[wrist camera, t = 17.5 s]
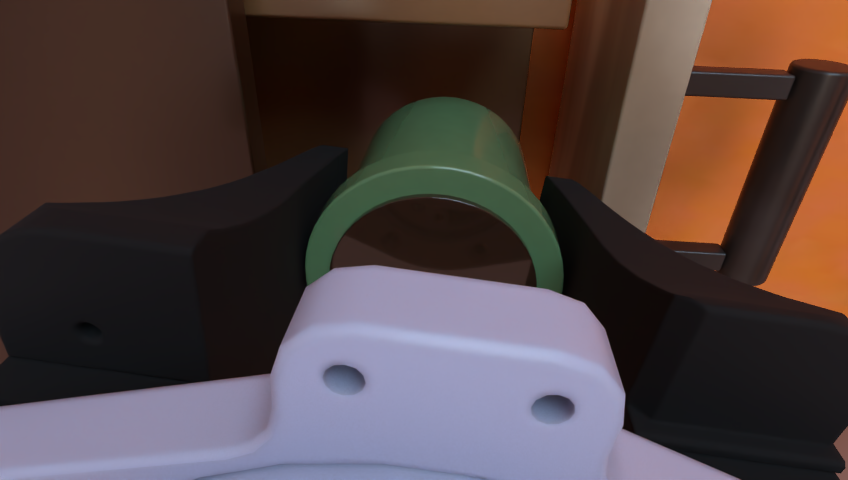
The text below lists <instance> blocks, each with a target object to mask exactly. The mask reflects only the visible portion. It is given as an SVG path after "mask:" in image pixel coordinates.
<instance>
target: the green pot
mask: <svg viewBox="0 0 848 480" xmlns="http://www.w3.org/2000/svg"><path fill="white" fill-rule="evenodd" d="M367 265H378V266H386V267H393V268H400V269H407V270H414V271H421V272H429V273H436V274H443V275H450V276H457V277H464V278H472V279H479V280H486V281H493V282H500V283H507V284H515V285H522V286H529V287H536V288H543V289H549V290H551V291H554V292H557V293H559V294H562V291H563V284H564V267H563V259H562V255H561V251H560V247H559V243H558V239H557V235H556V231H555V228H554V226H553V223H552V221H551V219H550V217H549V215H548V213H547V211H546V210H545V208H544V207H543V205H542V204H541V202H540V201H539V200H538V199H537V197H536V196H535V195H534V194H533V193H532V192H531V188H530V183H529V178H528V173H527V168H526V163H525V158H524V155H523V151H522V148H521V146H520V143H519V141H518V139H517V137H516V136H515V134H514V133H513V131H512V130H511V129H510V127H509V126H508V125H507V124H506V122H504V121H503V120H502V119H501V118H500V117H499V116H498V115H496V114H495V113H494V112H492V111H491V110H489V109H488V108H486V107H484V106H482V105H480V104H478V103H475V102H472V101H469V100H465V99H461V98H455V97H432V98H427V99H422V100H419V101H416V102H413V103H410V104H408V105H406V106H404V107H402V108H400V109H399V110H397V111H396V112H394V113H393V114H391V115H390V116H389V117H388V118H387V119H386V120H385V121H384V122H383V123H382V124H381V125H380V126H379V128H378V129H377V131H376V132H375V134H374V135H373V137H372V139H371V141H370V143H369V146H368V148H367V150H366V152H365V155H364V157H363V159H362V161H361V164H360V166H359V168H358V170H357V172H356V173H355V174H353V175H352V176H351V177H349V178H348V179H347V180H346V181H345V182H344V183H342V184H341V185H340V186H339V187H338V188H337V190H336V191H335V192H334V193H333V194H332V195H331V197H330V198H329V200H328V201H327V203H326V204H325V206H324V208H323V209H322V211H321V213H320V215H319V217H318V219H317V221H316V223H315V225H314V227H313V230H312V232H311V234H310V237H309V240H308V244H307V248H306V254H305V276H306V282H307V286H308V285H310V284H311V283H313V282H314V281H316V280H317V279H319V278H320V277H322V276H323V275H325V274H326V273H328V272H329V271H331V270H332V269H334V268H342V267H354V266H367Z"/></svg>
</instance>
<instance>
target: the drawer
mask: <svg viewBox="0 0 848 480" xmlns="http://www.w3.org/2000/svg"><path fill="white" fill-rule="evenodd" d="M243 2H244V9H245V16H246V23H247V30H248V37H249V44H250V51H251V58H252V65H253V72H254V79H255V86H256V93H257V100H258V107H259V114H260V121H261V128H262V135H263V142H264V149H265V156H266V163H267V169H268V168H270V167H273V166H275V165H277V164H280V163H282V162H284V161H286V160H288V159H290V158H293V157H295V156H297V155H299V154H301V153H303V152H305V151H308V150H310V149H312V148H315V147H317V146H321V145H327V146H334V147H341V148H348V166H347V179H348V178H349V177H351V176H352V175H353V174H355V173H356V172H357V170H358V168H359V166H360V164H361V161H362V159H363V157H364V155H365V152H366V150H367V148H368V146H369V143H370V141H371V139H372V137H373V135H374V134H375V132H376V131H377V129H378V128H379V126H380V125H381V124H382V123H383V122H384V121H385V120H386V119H387V118H388V117H389V116H390V115H391V114H393V113H394V112H396V111H397V110H399V109H400V108H402V107H404V106H406V105H408V104H410V103H413V102H416V101H419V100H422V99H427V98H432V97H455V98H461V99H465V100H469V101H472V102H475V103H478V104H480V105H482V106H484V107H486V108H488V109H489V110H491V111H492V112H494V113H495V114H496V115H498V116H499V117H500V118H501V119H502V120H503V121H504V122H506V124H507V125H508V126H509V127H510V129H511V130H512V131H513V133H514V134H515V136H516V137H517V139H518V141H520V133H521V125H522V117H523V109H524V102H525V94H526V86H527V78H528V70H529V62H530V54H531V47H532V39H533V31H534V28H537V29H561V30H563V29H566V28H567V26H568V23H569V16H570V10H571V4H572V0H243ZM711 3H712V0H577V5H576V11H575V17H574V24H573V30H572V36H571V42H570V48H569V54H568V60H567V66H566V72H565V78H564V85H563V91H562V97H561V103H560V109H559V115H558V121H557V127H556V133H555V139H554V146H553V152H552V158H551V164H550V170H549V176H551V177H558V178H566V179H572V180H574V181H576V182H577V183H579V184H580V185H582V186H583V187H584V188H586V189H587V190H588V191H590V192H591V193H592V194H593V195H595V196H596V197H597V198H598V199H600V200H601V201H602V202H603V203H605V204H606V205H607V206H608V207H610V208H611V209H612V210H613V211H615V212H616V213H617V214H619V215H620V216H621V217H623V218H624V219H625V220H627V221H628V222H629V223H631V224H632V225H634V226H635V227H637V228H638V229H639V230H641V231H642V232H644V233H645V232H646V228H647V225H648V222H649V218H650V215H651V211H652V208H653V204H654V201H655V197H656V194H657V190H658V187H659V183H660V180H661V176H662V173H663V169H664V166H665V162H666V159H667V155H668V152H669V149H670V145H671V142H672V138H673V135H674V131H675V128H676V124H677V121H678V117H679V114H680V110H681V107H682V103H683V100H684V96H704V97H725V98H746V99H767V100H776V102H775V104H774V107H773V109H772V112H771V115H770V117H769V120H768V123H767V125H766V128H765V130H764V133H763V136H762V138H761V141H760V144H759V146H758V149H757V151H756V154H755V157H754V159H753V162H752V164H751V167H750V170H749V172H748V175H747V178H746V180H745V183H744V185H743V188H742V191H741V193H740V196H739V199H738V201H737V204H736V206H735V209H734V212H733V214H732V217H731V220H730V222H729V225H728V227H727V230H726V233H725V235H724V238H723V241H722V243H721V246H720V245H719V244H713V243H697V242H680V241H664V240H656V241H658V242H659V243H661V244H663V245H665V246H666V247H668V248H670V249H672V250H673V251H675V252H677V253H679V254H681V255H682V256H684V257H686V258H688V259H690V260H692V261H694V262H696V263H698V264H701V265H703V266H705V267H707V268H709V269H712V270H716V272H718V273H720V274H723V275H725V276H727V277H730V278H732V279H735V280H738V281H740V282H743V283H745V284H748V285H751V286H757V285H760V284H762V283H764V282H765V281H766V279H767V277H768V275H769V273H770V270H771V268H772V266H773V264H774V262H775V259H776V257H777V255H778V253H779V251H780V248H781V246H782V244H783V242H784V239H785V237H786V235H787V233H788V231H789V228H790V226H791V224H792V222H793V220H794V217H795V215H796V213H797V211H798V209H799V206H800V204H801V202H802V200H803V198H804V195H805V193H806V191H807V189H808V187H809V184H810V182H811V180H812V178H813V176H814V173H815V171H816V169H817V167H818V165H819V162H820V160H821V158H822V156H823V154H824V151H825V149H826V147H827V145H828V143H829V140H830V138H831V136H832V134H833V131H834V129H835V127H836V125H837V123H838V120H839V118H840V116H841V114H842V112H843V109H844V107H845V105H846V103H847V101H848V65H846V64H842V63H838V62H833V61H826V60H818V59H799V60H794V61H792V62H791V63H790V65H789V67H788V70H787V72H786V71H784V70H773V69H751V68H728V67H706V66H693V65H694V62H695V58H696V55H697V51H698V48H699V44H700V41H701V37H702V34H703V30H704V27H705V23H706V20H707V16H708V13H709V10H710V6H711Z"/></svg>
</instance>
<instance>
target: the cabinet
mask: <svg viewBox="0 0 848 480" xmlns="http://www.w3.org/2000/svg"><path fill="white" fill-rule="evenodd" d="M265 169H267V163H266V156H265V149H264V142H263V135H262V128H261V121H260V114H259V107H258V100H257V93H256V86H255V79H254V72H253V65H252V58H251V51H250V44H249V37H248V30H247V23H246V16H245V9H244V2H243V0H0V234H2V233H3V232H5V231H6V230H7V229H9V228H10V227H12V226H13V225H14V224H16V223H17V222H19V221H20V220H22V219H23V218H24V217H26V216H27V215H29V214H30V213H31V212H33V211H34V210H36V209H37V208H39V207H40V206H41V205H43V204H44V203H79V202H116V201H129V200H141V199H150V198H158V197H166V196H171V195H177V194H182V193H188V192H193V191H198V190H203V189H208V188H212V187H215V186H219V185H223V184H226V183H230V182H233V181H236V180H239V179H242V178H245V177H248V176H250V175H253V174H255V173H258V172H260V171H263V170H265ZM8 357H9V356H8V354H7V351H6V349H5V346H4V344H3V342H2V339H1V337H0V364H1V363H2V362H3V361H4V360H5V359H6V358H8Z"/></svg>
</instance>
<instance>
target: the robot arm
mask: <svg viewBox="0 0 848 480" xmlns="http://www.w3.org/2000/svg"><path fill="white" fill-rule="evenodd" d="M347 166H348V148H341V147H334V146H327V145H321V146H317V147H315V148H312V149H310V150H308V151H305V152H303V153H301V154H299V155H297V156H295V157H293V158H290V159H288V160H286V161H284V162H282V163H280V164H277V165H275V166H273V167H270V168H268V169H265V170H263V171H260V172H258V173H255V174H253V175H250V176H248V177H245V178H242V179H239V180H236V181H233V182H230V183H226V184H223V185H219V186H215V187H212V188H208V189H203V190H198V191H193V192H188V193H182V194H177V195H171V196H166V197H158V198H150V199H141V200H129V201H116V202H79V203H44V204H43V205H41V206H40V207H39V208H37V209H36V210H34V211H33V212H31V213H30V214H29V215H27V216H26V217H24V218H23V219H22V220H20V221H19V222H17V223H16V224H14V225H13V226H12V227H10V228H9V229H7V230H6V231H5V232H3V233H2V234H0V337H1V339H2V342H3V344H4V346H5V349H6V351H7V354H8V356H9V357H8V358H6V359H5V360H4V361H3V362H2V363H1V364H0V480H840V479H839V478H838V476H837V475H836V473H841V472H842V471H843V470H844V469H845V461H844V460H843V458H842V456H841V455H840V453H839V452H838V450H837V449H836V447H835V446H834V444H833V443H834V442H835V441H836V439H837V438H838V437H839V436H840V435H841V433H842V432H843V431H844V430H845V429H846V427H847V426H848V318H847V317H846V316H845V315H844V314H842V313H839V312H835V311H832V310H828V309H825V308H821V307H818V306H814V305H811V304H807V303H804V302H800V301H796V300H793V299H789V298H786V297H782V296H779V295H776V294H773V293H771V292H768V291H765V290H762V289H759V288H756V287H754V286H751V285H748V284H745V283H743V282H740V281H738V280H735V279H732V278H730V277H727V276H725V275H723V274H720V273H718V272H716V271H714V270H712V269H709V268H707V267H705V266H703V265H701V264H698V263H696V262H694V261H692V260H690V259H688V258H686V257H684V256H682V255H681V254H679V253H677V252H675V251H673V250H672V249H670V248H668V247H666V246H665V245H663V244H661V243H659V242H658V241H656V240H655V239H653V238H651V237H650V236H648V235H647V234H645V233H644V232H642V231H641V230H639V229H638V228H637V227H635V226H634V225H632V224H631V223H629V222H628V221H627V220H625V219H624V218H623V217H621V216H620V215H619V214H617V213H616V212H615V211H613V210H612V209H611V208H610V207H608V206H607V205H606V204H605V203H603V202H602V201H601V200H600V199H598V198H597V197H596V196H595V195H593V194H592V193H591V192H590V191H588V190H587V189H586V188H584V187H583V186H582V185H580V184H579V183H577V182H576V181H574V180H572V179H566V178H558V177H551V176H546V178H545V182H544V186H543V189H542V193H541V197H540V202H541V204H542V205H543V207H544V208H545V210H546V211H547V213H548V215H549V217H550V219H551V221H552V223H553V226H554V228H555V231H556V235H557V239H558V243H559V247H560V251H561V255H562V259H563V267H564V284H563V291H562V294H559V293H557V292H554V291H551V290H549V289H543V288H536V287H529V286H522V285H515V284H507V283H500V282H493V281H486V280H479V279H472V278H464V277H457V276H450V275H443V274H436V273H429V272H421V271H414V270H407V269H400V268H393V267H386V266H378V265H367V266H354V267H342V268H334V269H332V270H331V271H329V272H328V273H326V274H325V275H323V276H322V277H320V278H319V279H317V280H316V281H314V282H313V283H311V284H310V285H308V286H307V282H306V276H305V254H306V248H307V244H308V240H309V237H310V234H311V232H312V230H313V227H314V225H315V223H316V221H317V219H318V217H319V215H320V213H321V211H322V209H323V208H324V206H325V204H326V203H327V201H328V200H329V198H330V197H331V195H332V194H333V193H334V192H335V191H336V190H337V188H338V187H339V186H340V185H341V184H342V183H344V182H345V181H346V180H347Z"/></svg>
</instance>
